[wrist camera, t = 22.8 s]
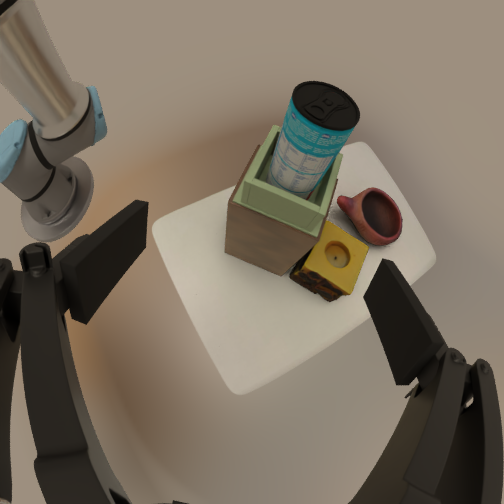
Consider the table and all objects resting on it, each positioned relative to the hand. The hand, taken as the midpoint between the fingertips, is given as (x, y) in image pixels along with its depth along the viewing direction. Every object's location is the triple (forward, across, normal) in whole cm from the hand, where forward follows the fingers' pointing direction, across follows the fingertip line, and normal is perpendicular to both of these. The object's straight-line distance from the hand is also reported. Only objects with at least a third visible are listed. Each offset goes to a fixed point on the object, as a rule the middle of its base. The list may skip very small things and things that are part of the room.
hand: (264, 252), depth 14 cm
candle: (+35, +16, -19) cm, 43 cm away
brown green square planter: (+37, +3, -17) cm, 41 cm away
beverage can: (+21, +3, -1) cm, 21 cm away
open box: (+21, +3, -2) cm, 22 cm away
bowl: (+44, +25, -10) cm, 52 cm away
